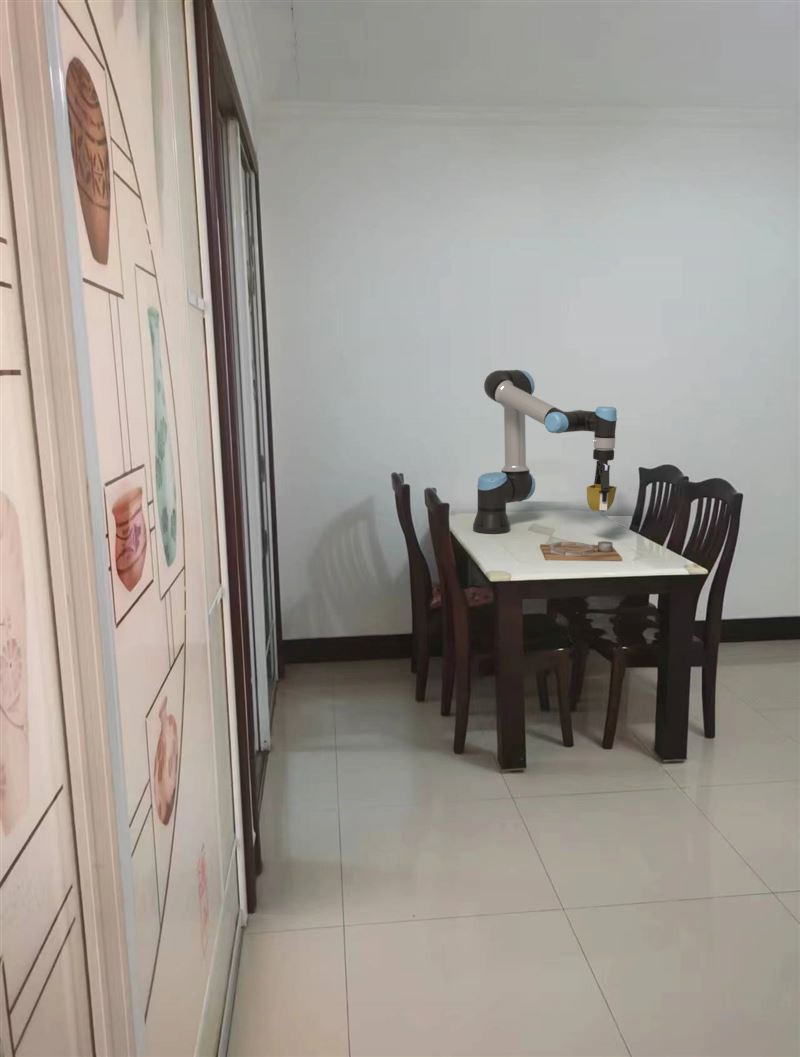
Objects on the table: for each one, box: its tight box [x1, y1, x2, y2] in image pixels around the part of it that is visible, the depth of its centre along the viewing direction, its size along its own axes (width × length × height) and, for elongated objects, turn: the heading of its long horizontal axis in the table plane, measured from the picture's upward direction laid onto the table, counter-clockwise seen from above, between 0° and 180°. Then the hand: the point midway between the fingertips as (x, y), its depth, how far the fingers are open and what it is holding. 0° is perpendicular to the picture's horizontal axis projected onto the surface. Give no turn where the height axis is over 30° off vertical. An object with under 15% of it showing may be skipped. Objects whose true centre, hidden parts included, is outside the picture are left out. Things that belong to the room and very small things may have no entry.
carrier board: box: [539, 540, 623, 562], centre depth 285 cm, size 20×26×4 cm
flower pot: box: [586, 483, 617, 513], centre depth 298 cm, size 9×9×9 cm
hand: (600, 507), depth 299 cm, fingers closed on flower pot, 11 cm apart
